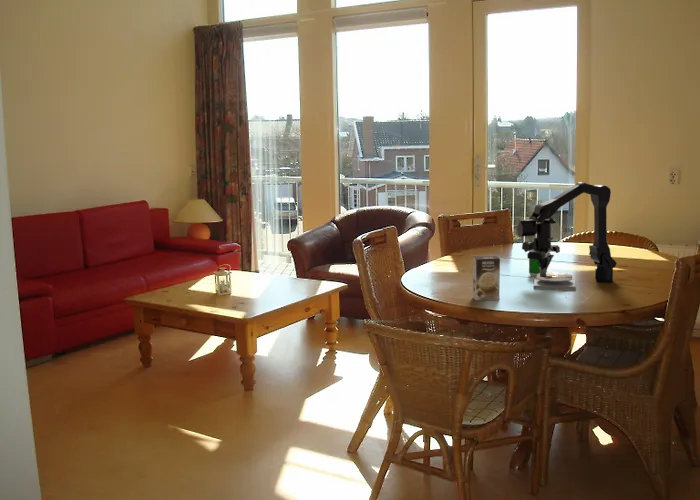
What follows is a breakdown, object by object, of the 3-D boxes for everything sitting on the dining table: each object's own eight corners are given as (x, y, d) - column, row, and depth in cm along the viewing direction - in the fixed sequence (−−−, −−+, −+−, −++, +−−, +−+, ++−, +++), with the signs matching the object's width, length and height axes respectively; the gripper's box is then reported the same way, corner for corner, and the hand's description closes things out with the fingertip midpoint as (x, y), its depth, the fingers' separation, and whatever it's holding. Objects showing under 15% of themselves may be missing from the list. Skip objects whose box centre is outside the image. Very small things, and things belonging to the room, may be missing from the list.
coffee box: (476, 301, 282) (475, 259, 279) (472, 297, 288) (472, 256, 285) (500, 300, 282) (500, 258, 279) (496, 296, 288) (496, 255, 285)
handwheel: (538, 274, 311) (538, 263, 310) (573, 275, 307) (573, 264, 306) (535, 281, 298) (535, 269, 297) (571, 282, 294) (571, 270, 293)
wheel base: (574, 282, 308) (574, 275, 307) (575, 290, 294) (575, 283, 293) (534, 281, 312) (534, 274, 312) (533, 289, 298) (533, 282, 297)
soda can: (534, 278, 318) (534, 250, 316) (525, 274, 325) (525, 247, 323) (550, 276, 320) (550, 249, 318) (541, 273, 327) (541, 246, 325)
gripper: (534, 230, 313) (535, 267, 316) (515, 237, 299) (515, 275, 301) (560, 231, 306) (560, 269, 309) (541, 238, 292) (541, 277, 295)
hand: (544, 272), depth 304 cm, fingers closed
